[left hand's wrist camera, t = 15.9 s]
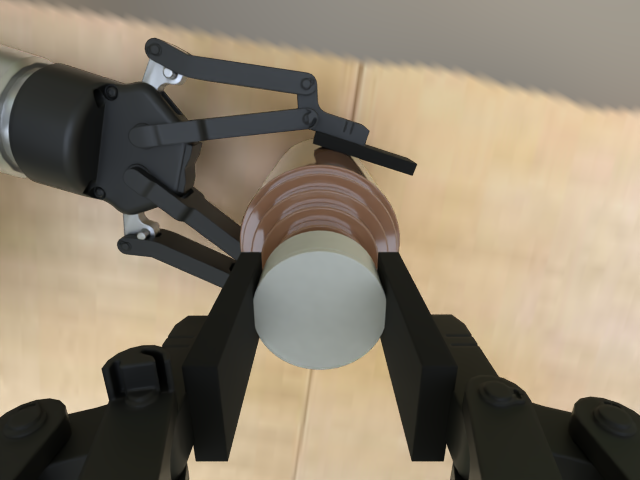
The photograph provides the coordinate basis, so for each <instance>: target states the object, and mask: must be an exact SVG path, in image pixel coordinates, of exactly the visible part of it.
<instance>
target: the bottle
mask: <svg viewBox="0 0 640 480" xmlns="http://www.w3.org/2000/svg"><path fill="white" fill-rule="evenodd" d="M313 139H314V138H313ZM313 139H308V140H305V141H302V142H300V143H298V144H296V145H294V146H293V147H291V148H290V149H289V150H288V151H287V152H286V153H285V154H284V155H283V156H282V158H281V159H280V160H279V162H278V163H277V165H276V166H275V167H274V169H273V170H272V172H271V173H270V175H269V176H268V178H267V179H266V180H265V182H264V183H263V185H262V186H261V188H260V189H259V190H258V192H257V193H256V195H255V196H254V198H253V199H252V201H251V202H250V204H249V206H248V207H247V210H246V212H245V215H244V217H243V221H242V225H241V231H240V249H241V252H261V253H262V271H263V268H264V265H265V263H266V261H267V259H268V258H269V256H270V255H271V253H272V252H273V251H274V250H275V249H276V248H277V247H278V246H279V245H280V244H281V243H283V242H284V241H285V240H287V239H289V238H291V237H293V236H295V235H298V234H300V233H304V232H309V231H331V232H335V233H339V234H342V235H344V236H347V237H349V238H351V239H352V240H354V241H356V242H357V243H358V244H360V245H361V246H362V247H363V248H364V249H365V250H366V251H367V253H368V254H369V255H370V257H371V258H372V260H373V262H374V264H375V267H376V269H377V263H378V252H399V246H400V233H399V226H398V222H397V219H396V215H395V213H394V211H393V208H392V206H391V204H390V203H389V201H388V200H387V198H386V197H385V195H384V194H383V192H382V191H381V189H380V188H379V187H378V185H377V184H376V182H375V181H374V179H373V178H372V177H371V175H370V174H369V172H368V171H367V169H366V168H365V166H364V165H363V164H362V162H361V161H360V159H359V158H356V157H353V156H349V155H346V154H343V153H340V152H337V151H334V150H331V149H328V148H324V147H321V146H318V145H315V144H313Z"/></svg>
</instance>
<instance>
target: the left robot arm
mask: <svg viewBox="0 0 640 480" xmlns="http://www.w3.org/2000/svg"><path fill="white" fill-rule="evenodd" d="M377 272H378V275H379V278H380V281H381V284H382V287H383V290H384V293H385V296H386V311H385V326H384V330H383V332H382V335H381V336H380V339H381V342H382V346H383V350H384V354H385V358H386V362H387V366H388V370H389V374H390V378H391V382H392V386H393V390H394V393H395V397H396V401H397V405H398V409H399V413H400V417H401V421H402V425H403V429H404V433H405V437H406V440H407V444H408V448H409V452H410V456H411V460H412V461H444V456H445V449H446V444H447V446H448V449H449V452H450V454H451V457H452V460H453V465H452V472H451V478H450V480H640V415H638V414H637V413H636V412H634V411H633V410H631V409H629V408H627V407H625V406H623V405H621V404H619V403H617V402H614V401H611V400H607V399H604V398H597V397H586V398H581V399H579V400H578V401H577V402H576V403H575V404H574V408H573V411H572V413H571V412H567V411H562V410H558V409H554V408H549V407H545V406H541V405H538V404H535V403H532V402H531V400H530V398H529V397H528V395H527V394H526V392H525V391H524V390H522V389H521V388H520V387H519V386H517V385H516V384H514V383H512V382H510V381H508V380H506V379H504V378H501V377H499V376H498V375H497V373H496V372H495V370H494V369H493V367H492V366H491V364H490V362H489V361H488V359H487V358H486V356H485V355H484V353H483V352H482V350H481V349H480V347H479V346H477V342H476V341H475V339H474V338H473V337H472V336H471V333H470V332H469V330H468V329H467V327H466V326H465V324H464V323H462V322H461V321H460V320H458V319H457V318H456V317H454V316H453V315H431V314H430V312H429V310H428V308H427V306H426V304H425V302H424V300H423V298H422V297H421V295H420V293H419V291H418V289H417V287H416V285H415V283H414V281H413V279H412V277H411V275H410V274H409V272H408V270H407V268H406V266H405V264H404V262H403V260H402V258H401V256H400V254H399V252H378V263H377ZM261 274H262V253H261V252H241V253H240V255H239V257H238V259H237V261H236V263H235V265H234V267H233V269H232V271H231V273H230V275H229V276H228V278H227V280H226V282H225V284H224V286H223V288H222V290H221V292H220V294H219V296H218V298H217V299H216V301H215V303H214V305H213V307H212V309H211V311H210V313H209V315H208V316H187V317H186V318H184V319H183V320H182V321H180V322H179V323H178V324H176V325H175V326H174V328H173V329H172V331H171V333H170V334H169V336H168V338H167V339H166V340H165V342H164V343H163V345H162V347H159V346H156V345H142V346H138V347H133V348H130V349H127V350H125V351H123V352H120V353H118V354H117V355H115V356H114V357H112V358H111V359H109V360H108V361H107V362H106V364H105V365H104V366H103V367H102V373H103V377H104V381H105V385H106V389H107V394H108V398H109V403H108V404H107V405H104V406H100V407H97V408H93V409H89V410H84V411H80V412H76V413H71V414H68V413H67V410H66V406H65V405H64V404H63V403H62V402H61V401H60V400H55V399H50V398H49V399H41V400H35V401H32V402H29V403H26V404H22V405H20V406H18V407H16V408H14V409H12V410H11V411H9V412H7V413H5V414H4V415H3V416H1V417H0V480H189V472H188V465H187V460H188V458H189V455H190V452H191V450H192V447H193V446H194V452H195V459H196V461H228V458H229V454H230V451H231V447H232V443H233V439H234V435H235V431H236V427H237V423H238V419H239V415H240V411H241V407H242V403H243V400H244V396H245V392H246V388H247V384H248V380H249V376H250V372H251V368H252V364H253V360H254V356H255V353H256V349H257V345H258V341H259V335H258V333H257V331H256V329H255V318H254V303H253V298H254V295H255V291H256V288H257V285H258V282H259V280H260V277H261Z"/></svg>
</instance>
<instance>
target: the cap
mask: <svg viewBox="0 0 640 480" xmlns="http://www.w3.org/2000/svg"><path fill="white" fill-rule="evenodd" d="M253 303H254V318H255V329H256V331H257V333H258V335H259V337H260V339H261V340H262V342H263V343H264V345H265V346H266V347H267V348H268V349H269V350H270V351H271V352H272V353H274V354H275V355H276V356H277V357H279V358H280V359H282V360H284V361H286V362H288V363H290V364H292V365H295V366H298V367H302V368H306V369H315V370H324V369H333V368H338V367H341V366H344V365H347V364H350V363H352V362H354V361H356V360H357V359H359V358H361V357H362V356H364V355H365V354H366V353H367V352H368V351H369V350H370V349H371V348H372V347H373V346H374V345H375V344H376V343H377V341H378V340H379V338H380V336H381V335H382V332H383V330H384V326H385V311H386V296H385V293H384V290H383V287H382V284H381V281H380V278H379V275H378V272H377V269H376V267H375V264H374V262H373V260H372V258H371V257H370V255H369V254H368V253H367V251H366V250H365V249H364V248H363V247H362V246H361V245H360V244H358V243H357V242H356V241H354V240H352V239H351V238H349V237H347V236H344V235H342V234H339V233H335V232H331V231H309V232H304V233H300V234H298V235H295V236H293V237H291V238H289V239H287V240H285V241H284V242H283V243H281V244H280V245H279V246H278V247H277V248H276V249H275V250H274V251H273V252H272V253H271V255H270V256H269V258H268V259H267V261H266V263H265V265H264V268H263V271H262V274H261V277H260V280H259V282H258V285H257V288H256V291H255V295H254V298H253Z"/></svg>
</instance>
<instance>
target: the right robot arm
mask: <svg viewBox="0 0 640 480" xmlns="http://www.w3.org/2000/svg"><path fill="white" fill-rule="evenodd" d="M145 52H146V54H147V56H148V57H149V58H150V59H149V62H148V65H147V68H146V71H145V74H144V77H143V80H142V82H135V83H131V84H125V83H121V82H118V81H115V80H112V79H109V78H105V77H102V76H99V75H96V74H93V73H90V72H87V71H84V70H80V69H77V68H74V67H71V66H68V65H65V64H59V63H55V64H54V63H52V62H51V61H49V60H48V59H46V58H43V57H40V56H37V55H34V54H31V53H27V52H24V51H21V50H18V49H15V48H12V47H8V46H5V45H2V44H0V172H2V173H5V174H8V175H11V176H15V177H20V178H29V179H31V180H32V181H34V182H37V183H40V184H44V185H47V186H51V187H54V188H58V189H61V190H65V191H68V192H72V193H75V194H79V195H82V196H86V197H90V198H95V199H100V200H104V201H106V202H108V203H109V204H111V205H112V206H114V207H115V208H116V209H117V210H118V211H120V212H121V213H123V218H124V237H122V238H121V239H119V241H118V243H117V246H118V249H119V250H120V251H121V252H122V253H124V254H128V255H137V256H146V257H153V258H155V259H157V260H160V261H162V262H164V263H166V264H169V265H171V266H173V267H176V268H178V269H180V270H182V271H185V272H187V273H189V274H192V275H194V276H196V277H198V278H201V279H203V280H205V281H208V282H210V283H212V284H214V285H217V286H219V287H221V288H223V286H224V284H225V282H226V280H227V278H228V276H229V275H230V273H231V271H232V269H233V267H234V265H235V263H236V261H237V259H238V257H239V255H240V253H241V249H240V231H241V226H239V225H238V224H237V223H235V222H234V221H233V220H231V219H230V218H229V217H228V216H226V215H225V214H224V213H222V212H221V211H220V210H218V209H217V208H216V207H215V206H213V205H212V204H211V203H209V202H208V201H207V200H206V199H205V198H204V196H203V194H202V193H201V192H199V191H198V190H197V189H195V188H194V187H193V186H194V181H195V162H196V160H197V158H198V156H199V155H200V151H201V146H202V143H201V142H199V141H205V140H211V139H220V138H230V137H239V136H248V135H257V134H267V133H276V132H285V131H295V130H304V129H309V130H310V129H311V130H314V131H316V132H315V136H314V139H313V144H315V145H318V146H321V147H324V148H328V149H331V150H334V151H337V152H340V153H343V154H346V155H349V156H353V157H356V158H359V159H362V160H365V161H368V162H371V163H374V164H377V165H381V166H384V167H387V168H390V169H393V170H396V171H399V172H402V173H406V174H409V175H412V176H413V173H414V171H415V168H416V166H417V164H416V163H415V162H413V161H411V160H410V159H408V158H406V157H403V156H400V155H397V154H394V153H390V152H387V151H384V150H381V149H378V148H375V147H372V146H369V145H366V144H365V143H366V140H367V137H368V134H369V130H368V129H367V128H366V127H364V126H363V125H362V124H359V123H356V122H353V121H350V120H347V119H344V118H341V117H338V116H335V115H332V114H329V113H326V112H324V111H323V110H322V109H321V108H320V107H319V104H318V95H317V81H316V79H315V77H314V76H313V75H312V74H310V73H306V72H299V71H293V70H286V69H279V68H273V67H266V66H259V65H253V64H246V63H239V62H233V61H226V60H219V59H213V58H206V57H199V56H193V55H191V54H190V53H188V52H186V51H184V50H182V49H180V48H179V47H177V46H175V45H173V44H170V43H167V42H165V41H162V40H160V39H157V38H151V39H149V40H148V41H147V42H146V44H145ZM188 77H189V78H194V79H199V80H204V81H210V82H217V83H224V84H231V85H238V86H244V87H251V88H258V89H265V90H272V91H278V92H285V93H292V94H297V100H298V109H289V110H280V111H271V112H262V113H252V114H243V115H234V116H225V117H216V118H206V119H197V120H187V118H186V117H185V116H184V115H183V114H182V112H181V111H180V110H179V109H178V108H177V106H176V105H175V104H174V103H173V101H172V100H171V99H170V98H169V97H168V95H167V94H166V93H165V92H164V91H163V90H164V88H165V87H166V86H167V85H169V84H173V85H182V84H184V83H185V82H186V80H187V78H188ZM157 207H159V208H161V209H162V210H163V211H165V212H166V213H167V214H169V215H170V216H171V217H173V218H174V219H176V220H178V221H183V222H185V223H187V224H188V225H189V226H191V227H192V228H193V229H195V230H196V231H197V232H199V233H200V234H201V235H203V236H204V237H205V238H207V239H208V240H209V241H211V242H212V243H213V244H215V245H216V246H218V247H219V248H220V249H222V250H223V251H224V252H226V253H227V254H228V255H230V256H231V257H232V258H234V259H235V260H234V259H232V258H230V257H228V256H226V255H223V254H221V253H219V252H217V251H215V250H212V249H210V248H208V247H206V246H203V245H201V244H199V243H197V242H195V241H192V240H190V239H188V238H186V237H184V236H181V235H179V234H177V233H174V232H172V231H168V230H165V229H160V226H159V224H158V223H157V222H154V221H151V220H149V219H148V218H147V217H146V216H145V214H144V212H145V211H148V210H151V209H154V208H157Z"/></svg>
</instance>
